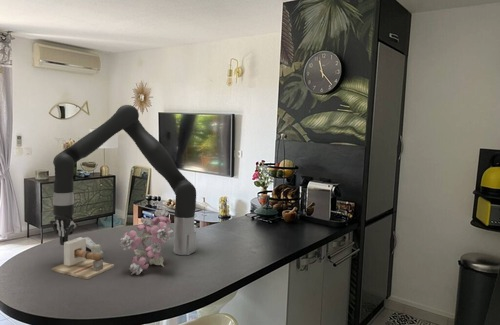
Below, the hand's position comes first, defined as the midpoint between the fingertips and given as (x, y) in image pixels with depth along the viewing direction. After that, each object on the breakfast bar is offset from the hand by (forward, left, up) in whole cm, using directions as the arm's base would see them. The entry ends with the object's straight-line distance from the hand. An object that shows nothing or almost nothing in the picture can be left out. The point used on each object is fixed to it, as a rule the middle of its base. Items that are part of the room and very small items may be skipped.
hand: (63, 244), depth 148 cm
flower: (-33, -11, -8) cm, 35 cm away
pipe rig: (-11, 0, -8) cm, 13 cm away
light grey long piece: (+2, -16, -9) cm, 18 cm away
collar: (-6, 0, -6) cm, 9 cm away
